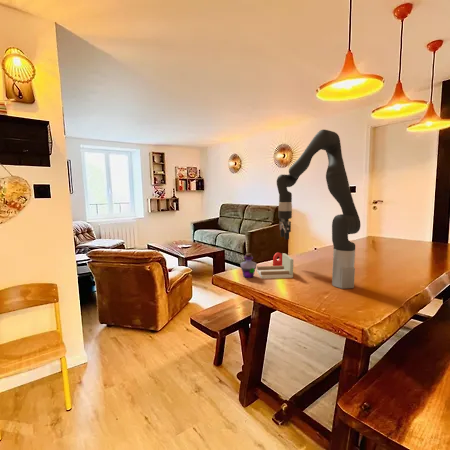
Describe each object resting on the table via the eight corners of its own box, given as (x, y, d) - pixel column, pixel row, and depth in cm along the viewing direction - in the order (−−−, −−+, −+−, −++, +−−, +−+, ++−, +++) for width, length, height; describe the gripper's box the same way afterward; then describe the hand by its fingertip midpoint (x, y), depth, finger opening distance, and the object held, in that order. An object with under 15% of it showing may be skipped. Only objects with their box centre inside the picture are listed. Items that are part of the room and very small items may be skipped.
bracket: (278, 268, 163) (278, 254, 162) (272, 266, 167) (273, 253, 166) (293, 265, 169) (293, 252, 168) (288, 263, 173) (288, 251, 172)
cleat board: (292, 277, 145) (293, 259, 144) (261, 278, 144) (262, 260, 143) (284, 270, 159) (285, 253, 158) (256, 270, 158) (256, 254, 157)
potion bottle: (250, 280, 142) (250, 256, 140) (236, 276, 148) (236, 253, 146) (260, 276, 148) (260, 253, 147) (247, 273, 154) (247, 251, 153)
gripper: (295, 210, 157) (294, 240, 159) (287, 209, 171) (287, 235, 173) (282, 211, 156) (281, 240, 158) (275, 209, 170) (274, 236, 172)
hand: (284, 238), depth 165 cm, fingers open, 8 cm apart
